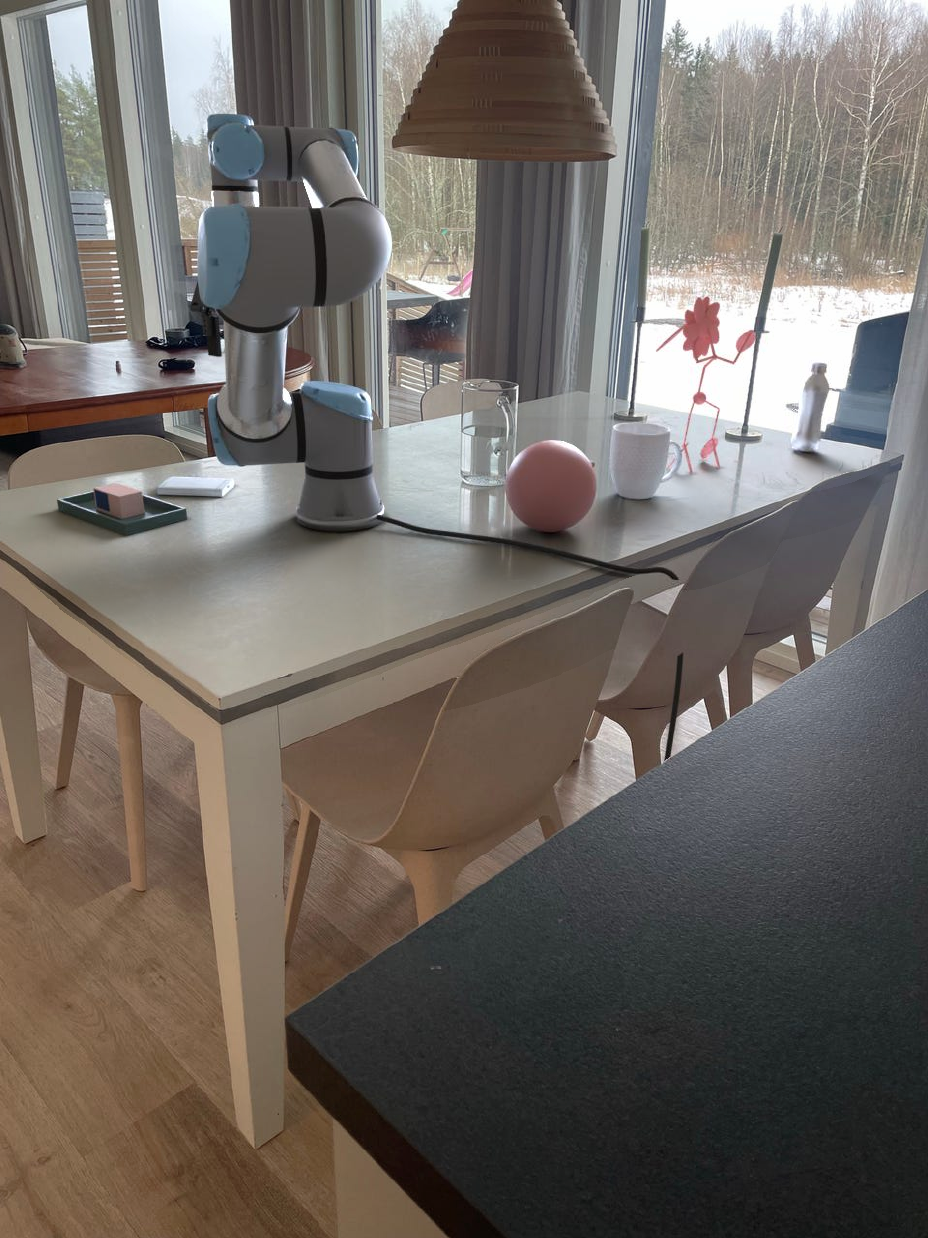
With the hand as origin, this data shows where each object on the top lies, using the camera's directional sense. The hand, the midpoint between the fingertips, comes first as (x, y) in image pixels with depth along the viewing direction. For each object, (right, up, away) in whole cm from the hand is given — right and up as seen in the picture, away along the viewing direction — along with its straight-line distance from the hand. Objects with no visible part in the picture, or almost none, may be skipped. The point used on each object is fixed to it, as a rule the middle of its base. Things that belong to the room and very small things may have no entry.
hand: (246, 352), depth 163 cm
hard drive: (-13, -22, +15) cm, 30 cm away
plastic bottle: (+118, -8, +55) cm, 130 cm away
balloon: (+54, -31, -1) cm, 62 cm away
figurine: (+86, -13, +42) cm, 97 cm away
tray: (-22, -28, +1) cm, 36 cm away
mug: (+73, -23, +19) cm, 78 cm away
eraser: (-22, -28, +1) cm, 36 cm away
